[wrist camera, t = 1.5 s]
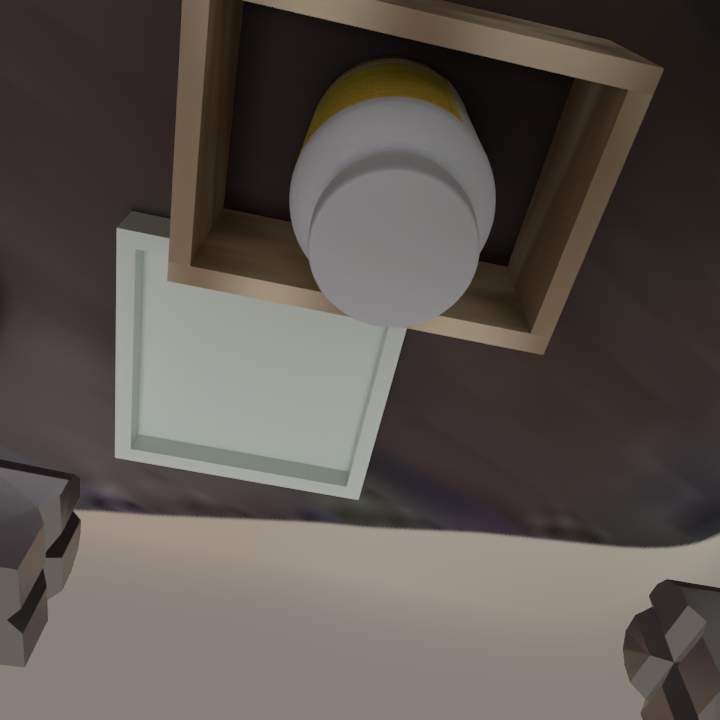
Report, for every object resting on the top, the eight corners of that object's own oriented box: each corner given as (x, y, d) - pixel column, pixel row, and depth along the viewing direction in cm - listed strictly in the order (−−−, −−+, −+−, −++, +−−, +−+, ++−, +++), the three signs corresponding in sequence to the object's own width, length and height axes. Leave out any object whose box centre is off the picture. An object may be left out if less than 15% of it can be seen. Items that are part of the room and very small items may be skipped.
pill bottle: (288, 84, 27) (231, 176, 17) (446, 27, 26) (482, 91, 16) (343, 230, 30) (321, 378, 20) (485, 187, 29) (535, 321, 19)
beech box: (609, 40, 26) (664, 68, 21) (518, 285, 31) (543, 355, 26) (226, -52, 24) (184, -45, 19) (204, 221, 30) (167, 280, 25)
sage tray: (416, 268, 31) (418, 288, 29) (359, 474, 38) (358, 500, 36) (131, 210, 30) (116, 227, 28) (127, 433, 37) (115, 457, 35)
